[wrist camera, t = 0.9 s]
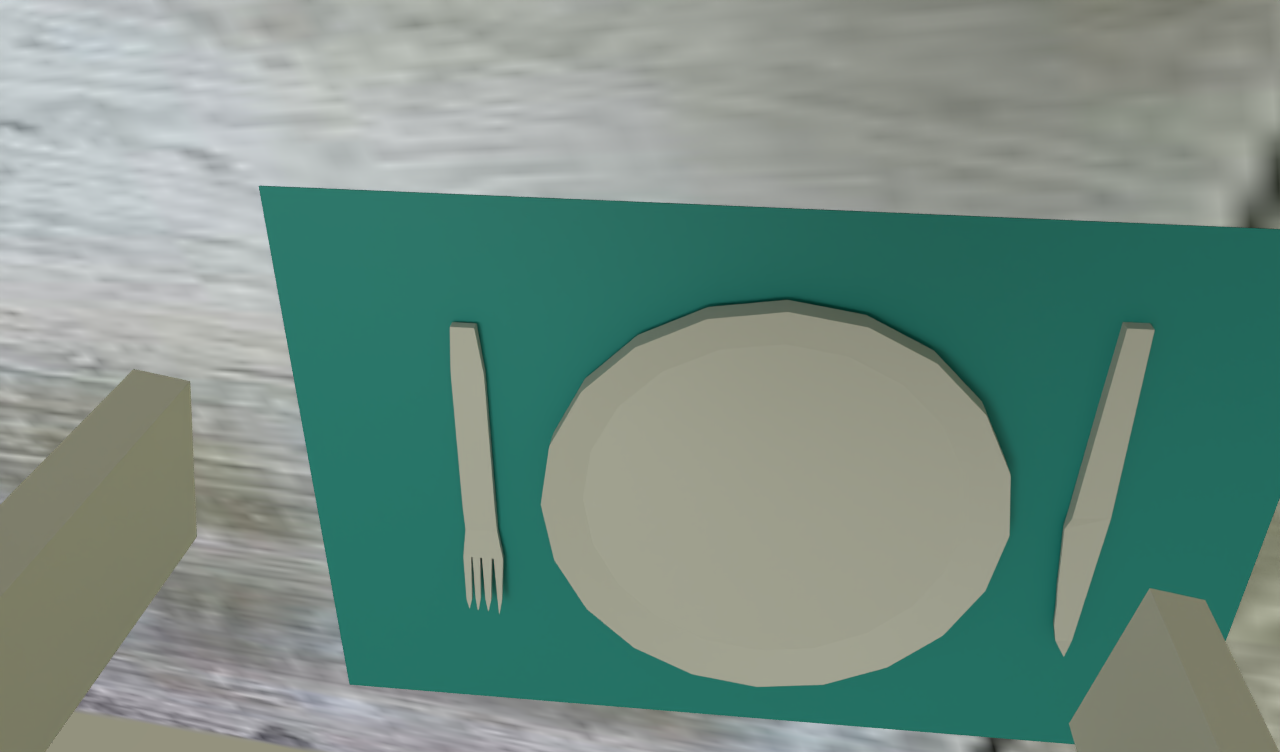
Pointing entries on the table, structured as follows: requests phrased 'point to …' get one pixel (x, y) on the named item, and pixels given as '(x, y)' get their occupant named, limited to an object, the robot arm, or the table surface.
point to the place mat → (773, 448)
